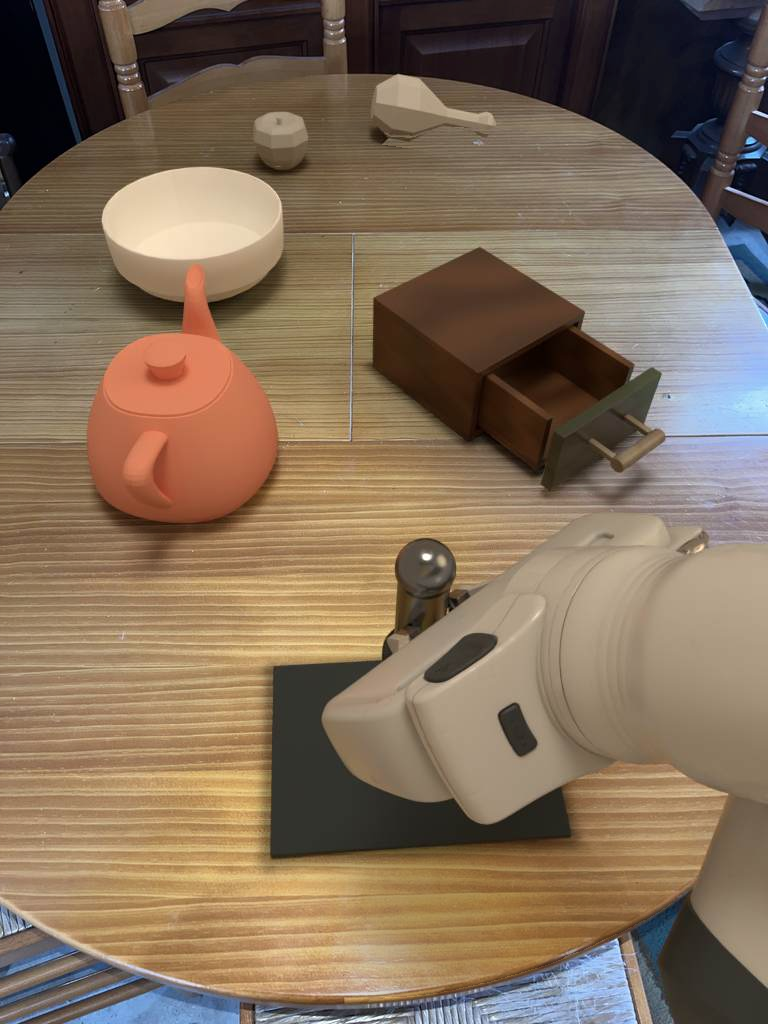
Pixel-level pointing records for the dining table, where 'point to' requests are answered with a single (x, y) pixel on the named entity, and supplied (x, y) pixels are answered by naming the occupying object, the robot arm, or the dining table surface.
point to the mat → (364, 785)
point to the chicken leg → (418, 110)
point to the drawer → (569, 406)
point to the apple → (280, 139)
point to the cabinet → (462, 331)
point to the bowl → (195, 231)
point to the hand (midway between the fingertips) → (428, 623)
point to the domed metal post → (421, 585)
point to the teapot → (181, 423)
